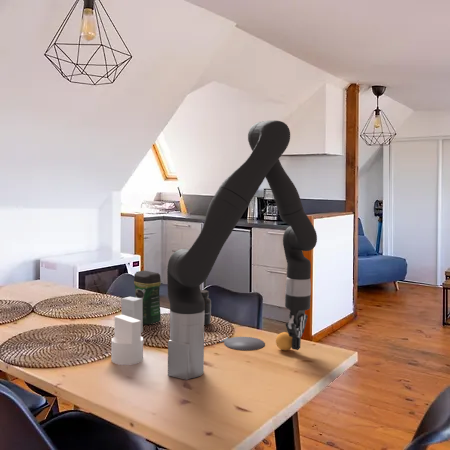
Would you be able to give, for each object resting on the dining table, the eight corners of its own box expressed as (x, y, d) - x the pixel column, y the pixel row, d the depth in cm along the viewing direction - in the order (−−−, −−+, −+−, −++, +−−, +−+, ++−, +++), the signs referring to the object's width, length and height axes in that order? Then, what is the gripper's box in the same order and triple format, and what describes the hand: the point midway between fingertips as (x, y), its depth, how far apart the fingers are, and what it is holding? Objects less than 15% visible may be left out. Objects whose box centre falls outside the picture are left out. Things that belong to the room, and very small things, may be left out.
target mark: (254, 353, 153) (254, 352, 153) (216, 345, 159) (216, 345, 159) (271, 341, 165) (271, 340, 165) (235, 335, 171) (235, 334, 171)
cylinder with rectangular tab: (149, 359, 146) (149, 318, 145) (123, 367, 140) (123, 324, 139) (130, 351, 152) (130, 312, 151) (105, 359, 146) (105, 318, 145)
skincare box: (143, 333, 170) (143, 298, 169) (134, 336, 167) (134, 301, 166) (129, 330, 174) (129, 296, 172) (120, 333, 170) (120, 298, 169)
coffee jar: (164, 322, 184) (164, 271, 183) (147, 326, 178) (148, 274, 177) (146, 317, 190) (146, 268, 189) (130, 321, 184) (130, 271, 183)
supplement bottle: (208, 327, 179) (208, 293, 178) (189, 325, 180) (189, 292, 179) (212, 322, 186) (213, 289, 185) (194, 320, 187) (194, 288, 186)
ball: (284, 330, 154) (270, 335, 156) (290, 348, 152) (275, 353, 155) (293, 329, 158) (279, 334, 161) (299, 346, 156) (285, 351, 159)
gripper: (302, 298, 144) (300, 357, 146) (317, 290, 156) (315, 345, 157) (277, 295, 148) (276, 353, 149) (294, 287, 159) (292, 340, 161)
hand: (296, 348), depth 153 cm, fingers closed
